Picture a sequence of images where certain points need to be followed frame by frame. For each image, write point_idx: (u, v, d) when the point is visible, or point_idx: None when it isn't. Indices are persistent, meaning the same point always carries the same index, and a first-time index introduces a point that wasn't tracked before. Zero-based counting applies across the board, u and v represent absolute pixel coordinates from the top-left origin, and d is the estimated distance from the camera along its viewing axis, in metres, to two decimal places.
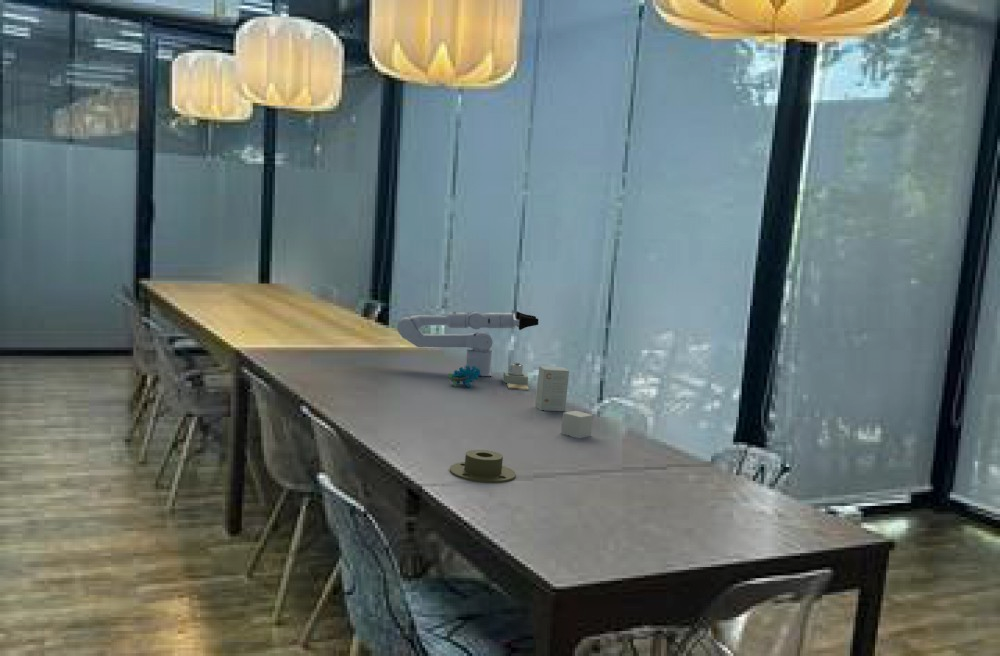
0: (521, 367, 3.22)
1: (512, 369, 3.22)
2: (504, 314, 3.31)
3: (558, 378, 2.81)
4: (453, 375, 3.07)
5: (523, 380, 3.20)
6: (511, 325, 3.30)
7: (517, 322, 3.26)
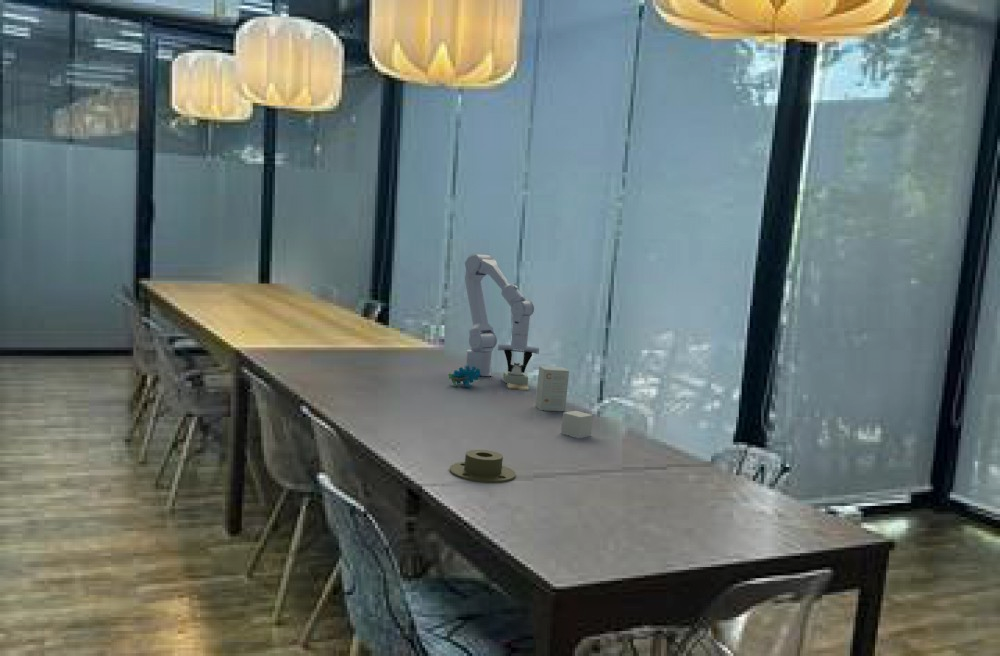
0: (521, 367, 3.22)
1: (512, 369, 3.22)
2: (516, 338, 3.20)
3: (558, 378, 2.80)
4: (453, 375, 3.07)
5: (523, 380, 3.20)
6: None
7: (498, 348, 3.22)
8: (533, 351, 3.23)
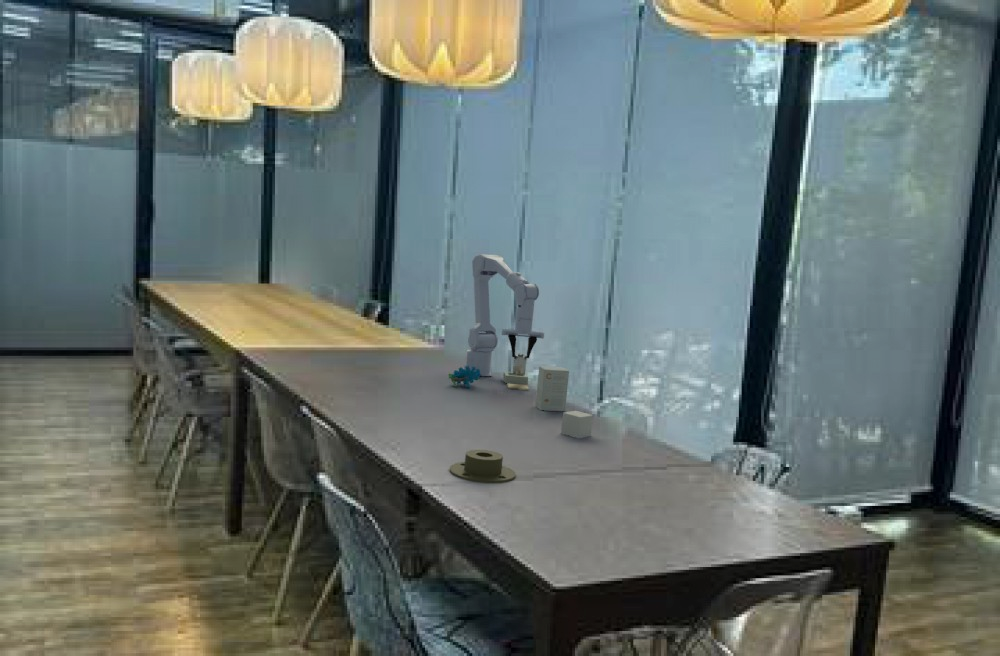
0: (525, 358, 3.14)
1: (516, 360, 3.14)
2: (520, 323, 3.11)
3: (558, 378, 2.80)
4: (453, 375, 3.07)
5: (523, 380, 3.20)
6: None
7: (502, 332, 3.13)
8: (538, 336, 3.15)
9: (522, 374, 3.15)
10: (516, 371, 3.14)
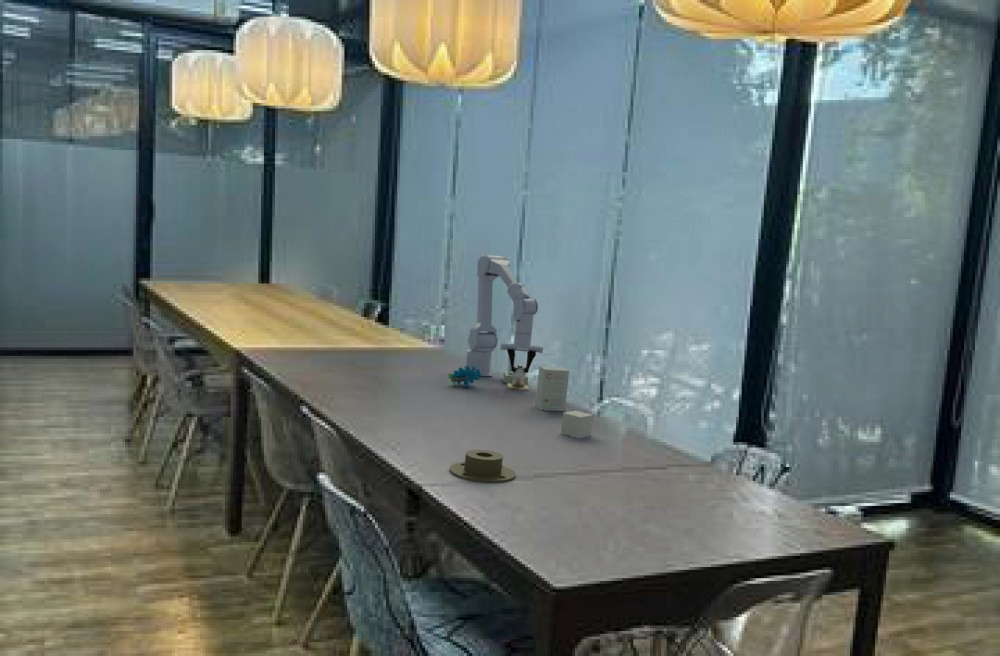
0: (524, 370, 3.13)
1: (515, 372, 3.13)
2: (519, 337, 3.10)
3: (558, 378, 2.81)
4: (453, 375, 3.07)
5: None
6: None
7: None
8: (537, 350, 3.14)
9: (521, 385, 3.14)
10: (516, 382, 3.13)
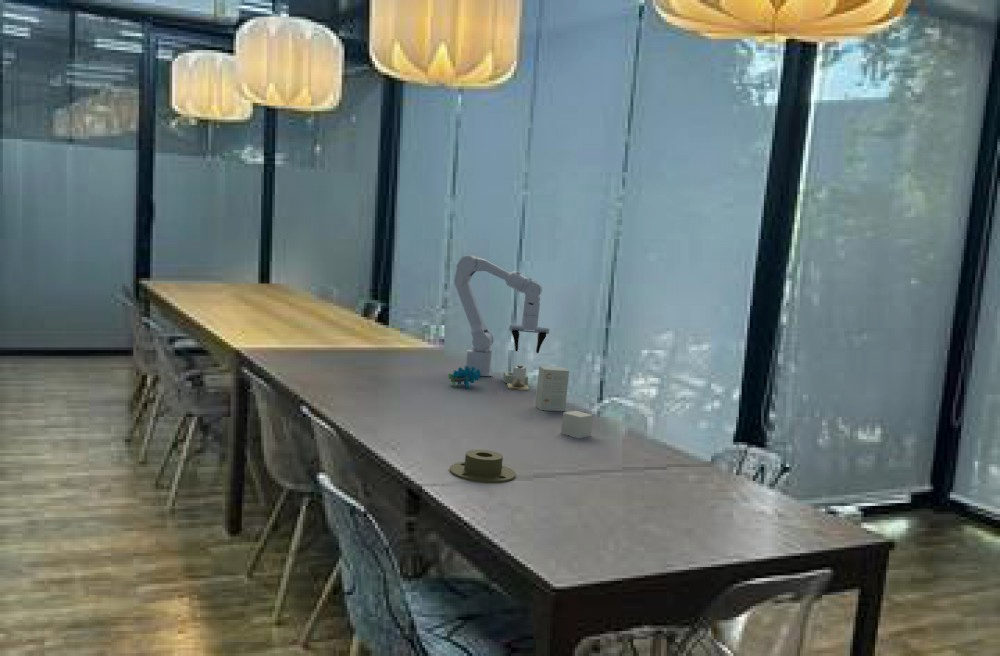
0: (524, 370, 3.13)
1: (515, 372, 3.13)
2: (526, 319, 3.27)
3: (558, 378, 2.81)
4: (453, 375, 3.06)
5: None
6: None
7: (509, 328, 3.29)
8: (543, 331, 3.30)
9: (521, 385, 3.14)
10: (516, 382, 3.13)
